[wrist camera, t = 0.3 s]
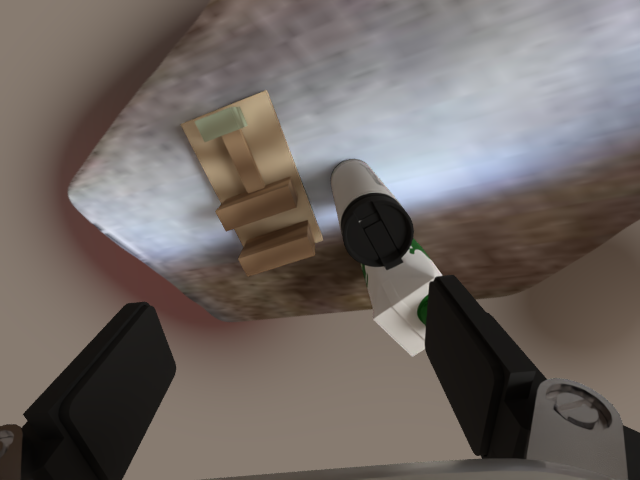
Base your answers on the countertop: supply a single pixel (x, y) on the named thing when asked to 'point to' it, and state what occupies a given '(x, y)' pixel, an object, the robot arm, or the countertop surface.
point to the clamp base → (274, 164)
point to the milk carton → (402, 297)
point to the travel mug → (370, 216)
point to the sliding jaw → (245, 174)
